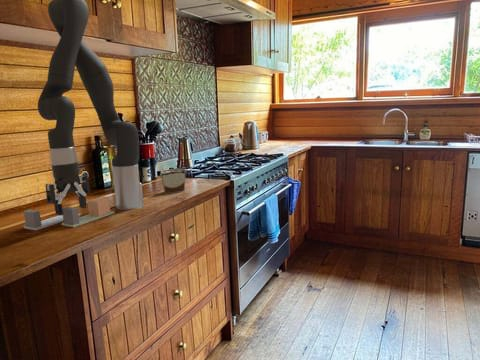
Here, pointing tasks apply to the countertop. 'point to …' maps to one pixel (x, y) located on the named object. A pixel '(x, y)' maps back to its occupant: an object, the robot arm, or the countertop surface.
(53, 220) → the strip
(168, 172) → the food container
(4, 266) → the countertop surface
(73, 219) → the block strip
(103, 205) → the block
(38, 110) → the robot arm
